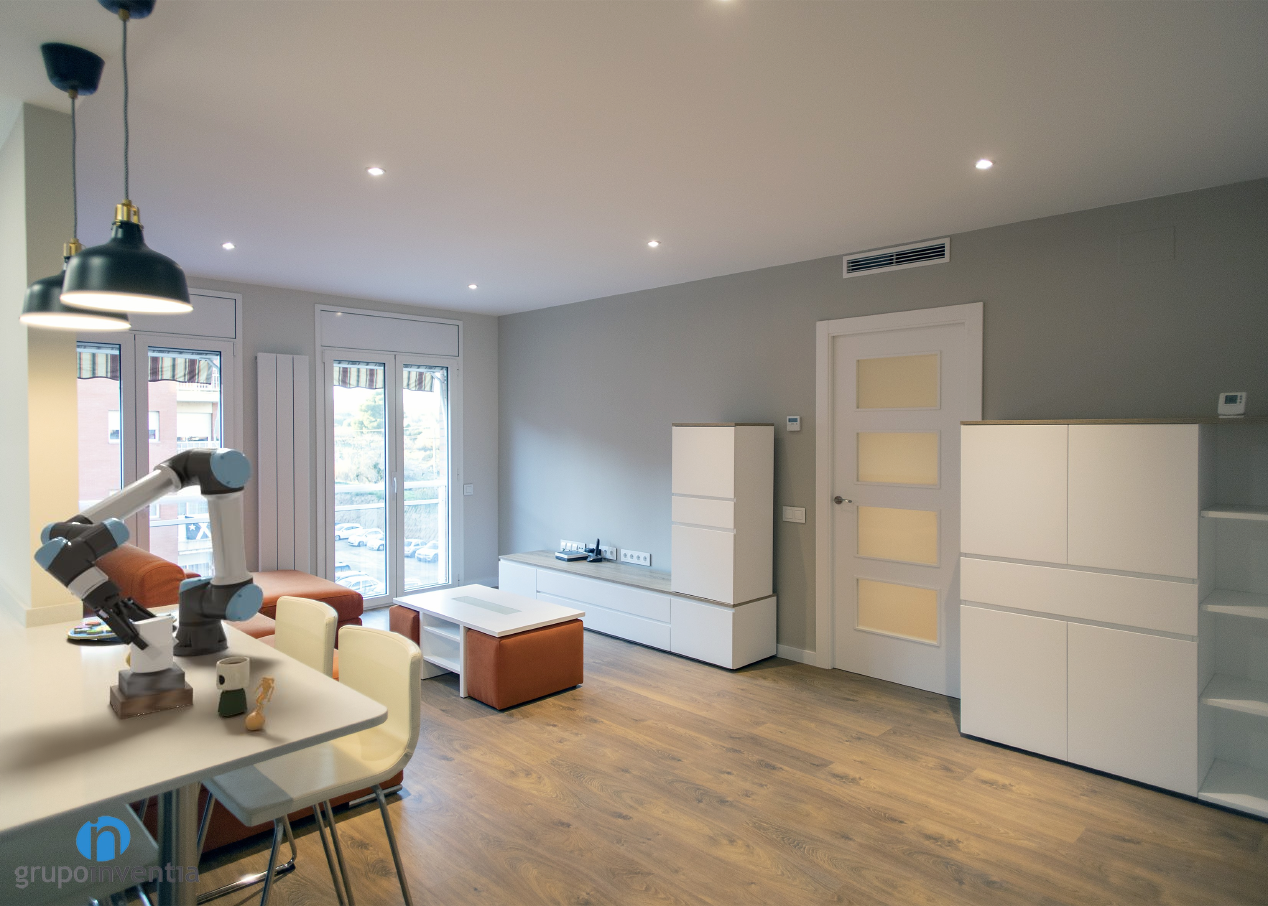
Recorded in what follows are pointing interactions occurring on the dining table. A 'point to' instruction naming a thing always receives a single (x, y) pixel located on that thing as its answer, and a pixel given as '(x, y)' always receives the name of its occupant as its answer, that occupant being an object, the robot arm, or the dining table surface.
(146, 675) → the grey and brown block
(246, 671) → the character mug
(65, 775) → the dining table surface
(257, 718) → the figurine
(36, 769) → the dining table surface
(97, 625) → the shape sorting clock
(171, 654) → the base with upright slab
